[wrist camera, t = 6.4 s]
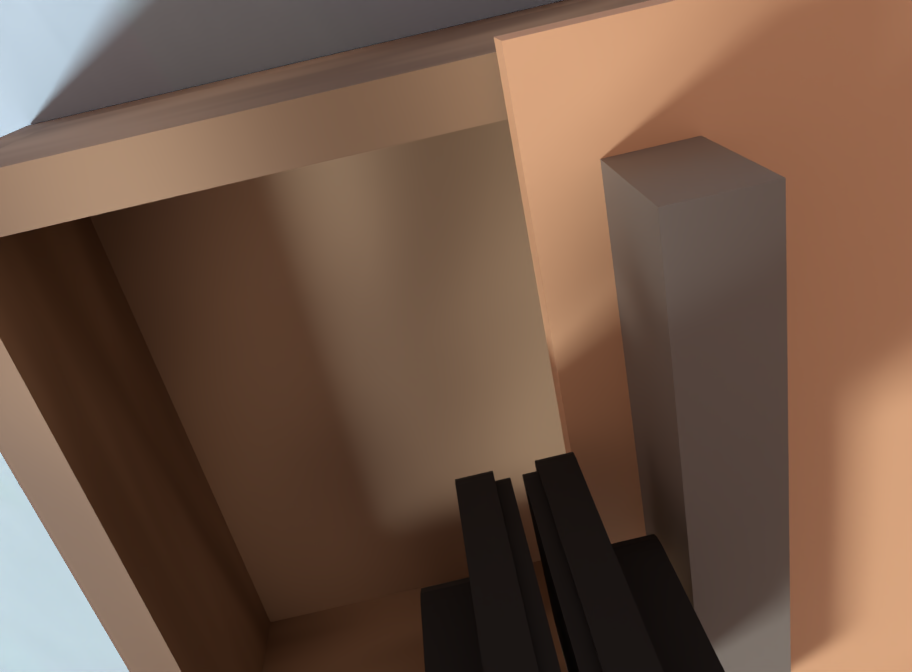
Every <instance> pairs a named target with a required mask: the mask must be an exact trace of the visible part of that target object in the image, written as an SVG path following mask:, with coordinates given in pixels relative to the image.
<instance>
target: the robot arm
mask: <svg viewBox="0 0 912 672" xmlns="http://www.w3.org/2000/svg"><path fill="white" fill-rule="evenodd" d="M535 467H536V471H535V472H531V473H527V474H522V476H523V481H524V486H525V490H526V495H527V499H528V504H529V508H530V513H531V518H532V522H533V527H534V531H535V536H536V540H537V545H538V549H539V554H540V558H541V563H542V568H543V572H544V577H545V581H546V586H547V590H548V595H549V599H550V604H551V608H552V613H553V617H554V621H555V625H556V629H557V633H558V637H559V641H560V645H561V648H562V652H563V656H564V659H565V663H566V667H567V670H568V672H725V671H724V669H723V667H722V665H721V663H720V661H719V659H718V657H717V655H716V653H715V651H714V649H713V647H712V645H711V643H710V641H709V638H708V636H707V634H706V632H705V630H704V628H703V626H702V624H701V622H700V620H699V618H698V616H697V614H696V612H695V610H694V608H693V606H692V604H691V602H690V600H689V598H688V596H687V594H686V592H685V590H684V588H683V586H682V584H681V582H680V580H679V578H678V576H677V574H676V572H675V570H674V568H673V566H672V564H671V562H670V560H669V558H668V556H667V554H666V552H665V550H664V548H663V546H662V544H661V542H660V541H659V539H658V537H657V536H656V535H655V534H651V535H647V536H642V537H638V538H634V539H630V540H625V541H621V542H617V543H613V544H611V542H610V540H609V537H608V535H607V532H606V530H605V527H604V525H603V522H602V520H601V518H600V515H599V513H598V510H597V508H596V505H595V503H594V500H593V498H592V496H591V493H590V491H589V488H588V486H587V483H586V481H585V478H584V476H583V473H582V471H581V469H580V466H579V464H578V461H577V459H576V456H575V454H574V453H573V452H569V453H565V454H561V455H557V456H552V457H548V458H544V459H540V460H535ZM455 486H456V492H457V499H458V506H459V512H460V519H461V525H462V532H463V539H464V545H465V552H466V559H467V565H468V572H469V577H467V578H463V579H459V580H455V581H450V582H446V583H442V584H438V585H433V586H429V587H425V588H421V592H420V604H421V619H422V634H423V649H424V664H425V672H561V669H560V665H559V662H558V658H557V654H556V650H555V646H554V642H553V639H552V635H551V631H550V627H549V623H548V620H547V616H546V612H545V608H544V604H543V600H542V597H541V593H540V589H539V585H538V581H537V578H536V574H535V570H534V566H533V562H532V558H531V555H530V551H529V547H528V543H527V539H526V535H525V532H524V528H523V524H522V520H521V516H520V513H519V509H518V505H517V501H516V497H515V493H514V490H513V486H512V482H511V478H505V479H501V480H497V481H495V478H494V474H493V471H489V472H484V473H480V474H476V475H472V476H467V477H463V478H459V479H455Z"/></svg>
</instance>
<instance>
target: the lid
mask: <svg viewBox="0 0 912 672" xmlns="http://www.w3.org/2000/svg"><path fill="white" fill-rule="evenodd" d="M494 42H495V47H496V53H497V59H498V65H499V70H500V76H501V82H502V88H503V93H504V99H505V105H506V111H507V116H508V122H509V128H510V134H511V139H512V145H513V151H514V157H515V162H516V168H517V174H518V180H519V185H520V191H521V197H522V203H523V209H524V214H525V220H526V226H527V232H528V237H529V243H530V249H531V255H532V260H533V266H534V272H535V278H536V283H537V289H538V295H539V301H540V306H541V312H542V318H543V324H544V329H545V335H546V341H547V347H548V352H549V358H550V364H551V370H552V375H553V381H554V387H555V393H556V399H557V404H558V410H559V416H560V422H561V427H562V433H563V439H564V445H565V450H566V453H569V452H573V453H574V454H575V456H576V459H577V461H578V464H579V466H580V469H581V471H582V473H583V476H584V478H585V481H586V483H587V486H588V488H589V491H590V493H591V496H592V498H593V500H594V503H595V505H596V508H597V510H598V513H599V515H600V518H601V520H602V522H603V525H604V527H605V530H606V532H607V535H608V537H609V540H610V542H611V544H613V543H617V542H621V541H625V540H630V539H634V538H638V537H642V536H647V535H651V534H655V535H656V536H657V537H658V539H659V541H660V542H661V544H662V546H663V548H664V550H665V552H666V554H667V556H668V558H669V560H670V562H671V564H672V566H673V568H674V570H675V572H676V574H677V576H678V578H679V580H680V582H681V584H682V586H683V588H684V590H685V592H686V594H687V596H688V598H689V600H690V602H691V604H692V606H693V608H694V610H695V612H696V614H697V616H698V618H699V620H700V622H701V624H702V626H703V628H704V630H705V632H706V634H707V636H708V638H709V641H710V643H711V645H712V647H713V649H714V651H715V653H716V655H717V657H718V659H719V661H720V663H721V665H722V667H723V669H724V671H725V672H912V0H649V1H645V2H641V3H636V4H632V5H628V6H623V7H619V8H615V9H611V10H606V11H602V12H598V13H593V14H589V15H585V16H581V17H576V18H572V19H568V20H563V21H559V22H555V23H551V24H546V25H542V26H538V27H533V28H529V29H525V30H521V31H516V32H512V33H508V34H504V35H499V36H495V37H494Z"/></svg>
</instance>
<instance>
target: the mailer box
mask: <svg viewBox="0 0 912 672" xmlns="http://www.w3.org/2000/svg"><path fill="white" fill-rule="evenodd" d="M645 1H649V0H564V1H559V2H555V3H551V4H547V5H542V6H538V7H534V8H529V9H525V10H521V11H517V12H512V13H508V14H504V15H499V16H495V17H491V18H487V19H482V20H478V21H474V22H469V23H465V24H461V25H457V26H452V27H448V28H444V29H439V30H435V31H431V32H427V33H422V34H418V35H414V36H410V37H405V38H401V39H397V40H392V41H388V42H384V43H380V44H375V45H371V46H367V47H362V48H358V49H354V50H350V51H345V52H341V53H337V54H332V55H328V56H324V57H320V58H315V59H311V60H307V61H302V62H298V63H294V64H290V65H285V66H281V67H277V68H273V69H268V70H264V71H260V72H255V73H251V74H247V75H243V76H238V77H234V78H230V79H225V80H221V81H217V82H213V83H208V84H204V85H200V86H195V87H191V88H187V89H183V90H178V91H174V92H170V93H165V94H161V95H157V96H153V97H148V98H144V99H140V100H136V101H131V102H127V103H123V104H118V105H114V106H110V107H106V108H101V109H97V110H93V111H88V112H84V113H80V114H76V115H71V116H67V117H63V118H58V119H54V120H50V121H46V122H41V123H37V124H33V125H28V126H26V127H24V128H21V129H19V130H17V131H14V132H12V133H10V134H7V135H5V136H3V137H1V138H0V452H1V454H2V456H3V457H4V459H5V461H6V462H7V464H8V466H9V468H10V469H11V471H12V473H13V474H14V476H15V478H16V479H17V481H18V483H19V485H20V486H21V488H22V490H23V491H24V493H25V495H26V496H27V498H28V500H29V502H30V503H31V505H32V507H33V508H34V510H35V512H36V513H37V515H38V517H39V519H40V520H41V522H42V524H43V525H44V527H45V529H46V530H47V532H48V534H49V536H50V537H51V539H52V541H53V542H54V544H55V546H56V547H57V549H58V551H59V553H60V554H61V556H62V558H63V559H64V561H65V563H66V564H67V566H68V568H69V570H70V571H71V573H72V575H73V576H74V578H75V580H76V581H77V583H78V585H79V587H80V588H81V590H82V592H83V593H84V595H85V597H86V598H87V600H88V602H89V604H90V605H91V607H92V609H93V610H94V612H95V614H96V615H97V617H98V619H99V621H100V622H101V624H102V626H103V627H104V629H105V631H106V632H107V634H108V636H109V638H110V639H111V641H112V643H113V644H114V646H115V648H116V649H117V651H118V653H119V655H120V656H121V658H122V660H123V661H124V663H125V665H126V666H127V668H128V670H129V672H425V664H424V649H423V634H422V619H421V604H420V592H421V588H425V587H429V586H433V585H438V584H442V583H446V582H450V581H455V580H459V579H463V578H467V577H469V572H468V565H467V559H466V552H465V545H464V539H463V532H462V525H461V519H460V512H459V506H458V499H457V492H456V486H455V479H459V478H463V477H467V476H472V475H476V474H480V473H484V472H489V471H493V474H494V478H495V481H497V480H501V479H505V478H511V482H512V486H513V490H514V493H515V497H516V501H517V505H518V509H519V513H520V516H521V520H522V524H523V528H524V532H525V535H526V539H527V543H528V547H529V551H530V555H531V558H532V562H533V566H534V570H535V574H536V578H537V581H538V585H539V589H540V593H541V597H542V600H543V604H544V608H545V612H546V616H547V620H548V623H549V627H550V631H551V635H552V639H553V642H554V646H555V650H556V654H557V658H558V662H559V665H560V669H561V672H568V670H567V667H566V663H565V659H564V656H563V652H562V648H561V645H560V641H559V637H558V633H557V629H556V625H555V621H554V617H553V613H552V608H551V604H550V599H549V595H548V590H547V586H546V581H545V577H544V572H543V568H542V563H541V558H540V554H539V549H538V545H537V540H536V536H535V531H534V527H533V522H532V518H531V513H530V508H529V504H528V499H527V495H526V490H525V486H524V481H523V476H522V474H527V473H531V472H535V471H536V467H535V460H540V459H544V458H548V457H552V456H557V455H561V454H565V453H566V450H565V445H564V439H563V433H562V427H561V422H560V416H559V410H558V404H557V399H556V393H555V387H554V381H553V375H552V370H551V364H550V358H549V352H548V347H547V341H546V335H545V329H544V324H543V318H542V312H541V306H540V301H539V295H538V289H537V283H536V278H535V272H534V266H533V260H532V255H531V249H530V243H529V237H528V232H527V226H526V220H525V214H524V209H523V203H522V197H521V191H520V185H519V180H518V174H517V168H516V162H515V157H514V151H513V145H512V139H511V134H510V128H509V122H508V116H507V111H506V105H505V99H504V93H503V88H502V82H501V76H500V70H499V65H498V59H497V53H496V47H495V42H494V37H495V36H499V35H504V34H508V33H512V32H516V31H521V30H525V29H529V28H533V27H538V26H542V25H546V24H551V23H555V22H559V21H563V20H568V19H572V18H576V17H581V16H585V15H589V14H593V13H598V12H602V11H606V10H611V9H615V8H619V7H623V6H628V5H632V4H636V3H641V2H645Z"/></svg>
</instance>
